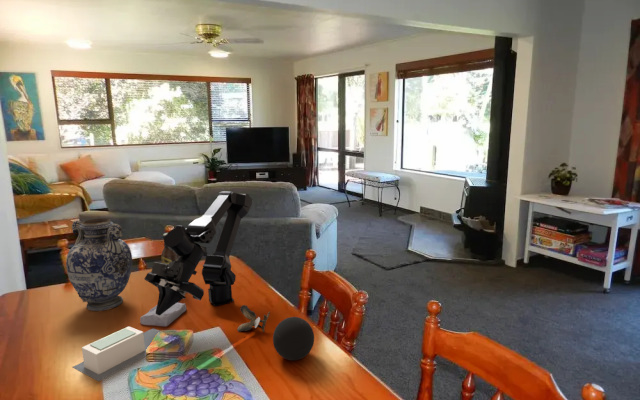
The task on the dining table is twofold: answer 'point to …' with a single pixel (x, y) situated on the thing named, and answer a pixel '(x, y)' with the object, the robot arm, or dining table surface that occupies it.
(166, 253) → the sauce bottle
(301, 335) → the speaker
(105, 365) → the tall block
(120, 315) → the dining table surface
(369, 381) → the dining table surface
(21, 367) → the dining table surface
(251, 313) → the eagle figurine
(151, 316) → the stone block
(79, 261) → the decorative vase
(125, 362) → the mat
